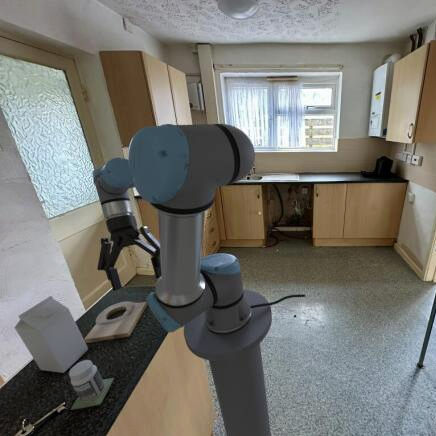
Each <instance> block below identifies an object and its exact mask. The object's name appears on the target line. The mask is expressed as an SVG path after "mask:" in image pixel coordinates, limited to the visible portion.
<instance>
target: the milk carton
mask: <svg viewBox="0 0 436 436" xmlns="http://www.w3.org/2000/svg"><path fill="white" fill-rule="evenodd" d="M18 318H19V321H18V322H17V323H16V325H15V326H14V329H15V331H16V333H17V334H18V336H19V337H20V339H21V341H22V343H23V344H24V346H25V347H26V348H27V350H28V352H29V353H30V355H31V357H32V358H33V360H34V362H35V363H36V366H38V368H39V370H40V371H45V372H54V373H61V374H64V373H65V372H66V371H68V369H70V368H71V366H72V367H73V365H74V364H75V363H76V362H77V361H78V360H79V359H80V358H81V357H82V356H84V355H85V353H87V351H88V350H89V347H88V345H87V343H85V341H84V339H85V338H84V337H83V335H82V332H81V331H80V329H79V327H78V324H77V322H76V321H75V319H74V317H73V315H72V313H71V311H70V309H69V307H67V306H65V305H63V303H61V302H59V301H58V300H57V299H55V298H54V297H53V295H50V296H48V297H47V298H44V299H43V300H41V301H40V302H38V303H37V304H35V305H34V306H32V307H30V308H29V309H27V310H25V311H24V312H22V313H21V314H19V315H18Z"/></svg>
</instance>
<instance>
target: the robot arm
mask: <svg viewBox="0 0 436 436" xmlns="http://www.w3.org/2000/svg"><path fill="white" fill-rule="evenodd" d="M255 160H256V151H255V147H254V144H253V142H252V140H251V139H250V137H249V136H248V135H247V134H246V133H245V131H243V130H242V129H240V128H238V127H236V126H235V125H231V124H227V123H206V124H201V123H200V124H173V123H166V124H165V123H164V124H161V125H154V126H146V127H145V126H144V127H142V128H140V129H138V130H137V132H136V133H135V134H134V135H133V136H132V138H131V139H130V143H129V147H128V157H127V158H123V157H113V158H110V159H109V160H108V161H107V162H106V163H105V164H104V165H103V166H100V167H97V168H94V169H93V170H92V172H91V173H92V178H93V180H92V181H93V184H94V186H95V189H96V193H97V196H98V199H99V204H100V206H101V207H100V208H101V211H102V214H103V218H104V219H105V225H106V228H107V231H108V232H109V234H110V236H109V237H102V238H100V252H99V257H98V262H97V269H96V270H97V271H104V272H105V274H106V278H107V280H108V282H109V281H110V284H111V289H112V291H113V292H115V291H118V290H121V289H123V285H122V282H121V279H120V275H119V272H118V268H116V267H115V265H116V263H117V261H118V259H119V256H120V254H121V252H122V250H124V248H128V247H130V246H137V247H138V248H140V249H141V250H142V251H145V252H146V253H148V255H151V257H150V262H151V265H152V268H153V271H154V272H153V273H154V275H155V279H157V281H156V284H155V286H154V287H155V289H154V291H152V292H150V294H148V295H146V297H145V300H146V301H145V302H147V304H148V305H147V306H148V307H149V309H150V311H151V312H152V314H153V316H154V317H155V319H156V320H157V322H158V323H159V325H160V327H162V328H163V330H165V332H167V333H171V334H172V333H174V332H175V331H178V330H179V329H181V328H184V325H185V324H187V323H188V322H190V321H191V320H193V319H194V318H196V317H197V316H199V315H200V314H201V313H203V312H204V311H206V312H205V313H206V315H205V322H206V326H207V328H208V330H209V331H211V332H212V333H214V334H218V335H227V334H232V333H235V332H237V331H239V330H240V329H242V328H243V327H245V326H246V325H247V323H248V322H249V320H250V318H251V315H252V312H251V308H256V307H262V306H269V305H270V306H274V305H277V304H279V303H280V302H283V301H285V300H288V299H292V298H305V297H306V294H303V293H302V294H289V295H286V296H283V297H281V298H279V299H277V300H275V301H271V302H269V303H264V304H258V305H252V306H250V304H249V302H248V301H247V299H246V297H245V295H244V293H243V289H244V287H243V279H242V272H241V271H242V268H241V265H240V261H239V258H238V257H236V256H235V255H233V254H230V253H221V252H219V253H213V254H209V255H205V256H203V258H202V255H203V254H202V253H203V243H204V231H205V218H206V212H207V211H209V210H210V209H211V208H212V207H213V206H214V204H215V197H216V190H217V189H218V188H220V187H221V188H222V187H225V186H227V185H232V184H234V183H237V182H240V181H241V180H244V179H245V178H246V177H247V176H248V175H249V174H250V173H251V170H252V169H253V167H254V165H255V162H256V161H255ZM134 188H135V191H136V192H137V193H138V195H139V197H140V198H141V199H142V200H144V201H145V202H147V203H148V204H149V205H150V206H151V207H152V208H153V209H154V210H156V211H157V219H158V220H157V221H158V236H159V240H158V239H157V238H156V237H155V236H154V235H153V233H151V230H150V228H149V226H140V227H139V228H138V223H137V219H136V216H135V215H134V214H135V213H134V208H133V206H132V202H131V199H130V194H129V191H128V190H129V189H134ZM140 235H141V236H142V237H143V238H144V239H145V240H146V241H147V242H148V243H147V242H146V241H145V240H144V239H142V238H141V237H140Z"/></svg>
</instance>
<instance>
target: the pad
mask: <svg viewBox="0 0 436 436" xmlns="http://www.w3.org/2000/svg"><path fill="white" fill-rule="evenodd" d="M103 381H104V383H105V388H104V390H103V391H102V393H101V394H100V395H99V396H97V397H96V398H95V399H93V400H91V401H88V402H83V401H81V400H80V398H79V396H78V397H77V398H76V400H75V401H74V403H73V404H72V406H71V407H70V410H71V411H73V410H74V411H75V410H79V409H85V408H89V407H90V408H91V407H95V406H101V404H102V403H103V401H104V399H105V397H106V396H107V393H108V392H109V390H110V388H111V386H112V384H113V382H114V381H115V377H111V378H110V377H109V378H105V379H103Z"/></svg>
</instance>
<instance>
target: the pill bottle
mask: <svg viewBox="0 0 436 436" xmlns="http://www.w3.org/2000/svg"><path fill="white" fill-rule="evenodd" d="M68 376H69V379H70V384H71V386H72V388H73V390H74V391H75V392H76V394H77V396H78V397H79V398H80V400H81V401H83V402H88V401H91V400H93V399H95V398H96V397H97V396H99V395H100V394H101V393H102V391H103V390H104V388H105V383H104V381H103V380H104V379H103V377H102V375H101V373H100V371H99V369H98V367H97V365H95V364H93V361H92V360H90V359H84V360H82V361H79V362H77V363H76V364H75V365H74V366H73V365H72V367H71V368H70V370H69V372H68Z"/></svg>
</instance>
